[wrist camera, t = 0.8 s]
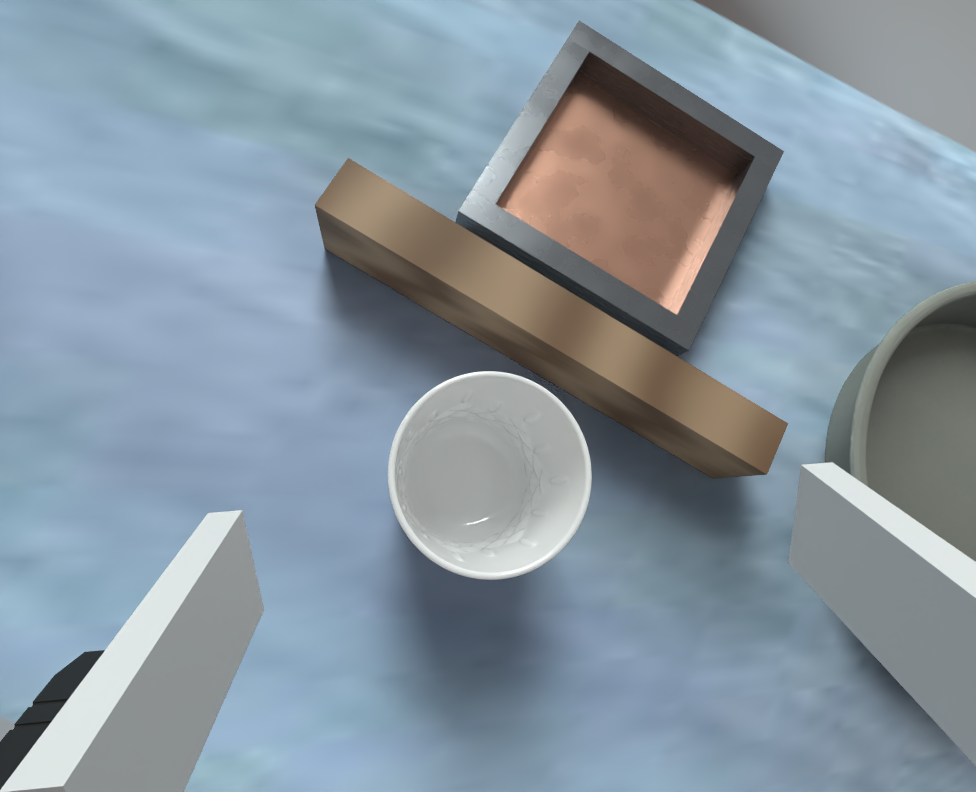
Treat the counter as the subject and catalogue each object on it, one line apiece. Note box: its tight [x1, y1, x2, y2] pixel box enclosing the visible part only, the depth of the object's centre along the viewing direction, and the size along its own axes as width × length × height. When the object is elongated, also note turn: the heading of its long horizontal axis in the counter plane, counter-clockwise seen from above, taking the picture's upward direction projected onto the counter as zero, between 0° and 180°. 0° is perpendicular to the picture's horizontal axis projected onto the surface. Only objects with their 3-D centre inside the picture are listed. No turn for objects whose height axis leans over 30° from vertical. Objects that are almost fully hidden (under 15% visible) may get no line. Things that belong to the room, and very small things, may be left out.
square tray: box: [455, 21, 784, 356], centre depth 36 cm, size 15×15×2 cm
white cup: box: [388, 371, 592, 580], centre depth 27 cm, size 8×8×10 cm
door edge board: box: [315, 158, 788, 478], centre depth 32 cm, size 26×3×5 cm, turn 61°
